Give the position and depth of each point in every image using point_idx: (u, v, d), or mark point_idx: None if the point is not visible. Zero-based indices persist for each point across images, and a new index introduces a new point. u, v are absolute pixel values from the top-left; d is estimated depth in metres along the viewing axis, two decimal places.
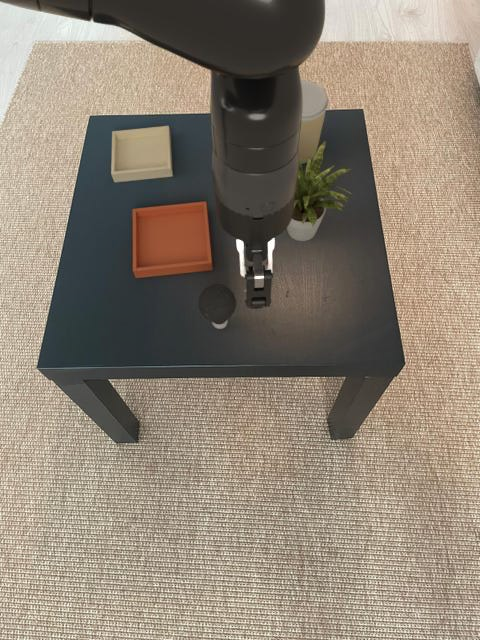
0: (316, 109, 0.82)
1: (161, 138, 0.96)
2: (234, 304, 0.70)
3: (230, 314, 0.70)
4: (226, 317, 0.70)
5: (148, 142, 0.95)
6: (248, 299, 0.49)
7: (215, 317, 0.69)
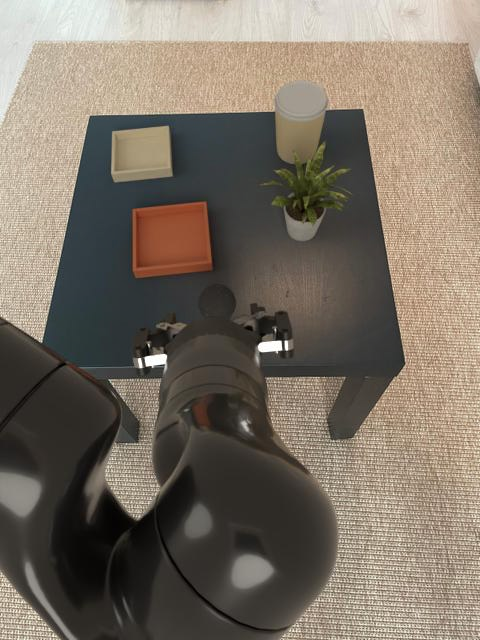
0: (316, 109, 0.82)
1: (161, 138, 0.96)
2: (234, 304, 0.70)
3: (230, 314, 0.70)
4: (226, 317, 0.70)
5: (148, 142, 0.95)
6: None
7: (215, 317, 0.69)
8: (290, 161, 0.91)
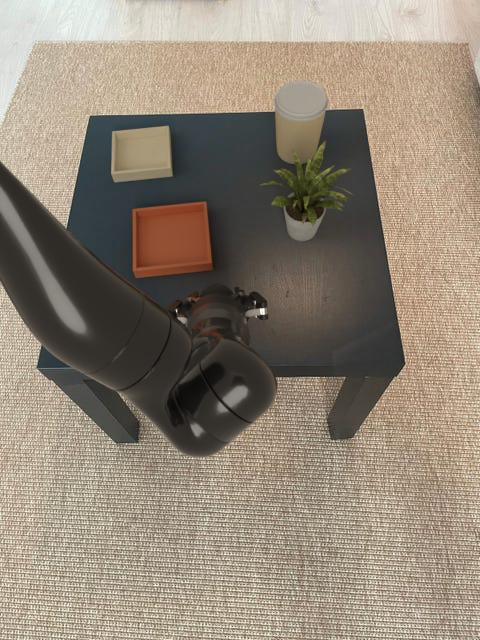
0: (316, 109, 0.82)
1: (161, 138, 0.96)
2: None
3: None
4: None
5: (148, 142, 0.95)
6: (170, 305, 0.66)
7: None
8: (290, 161, 0.91)
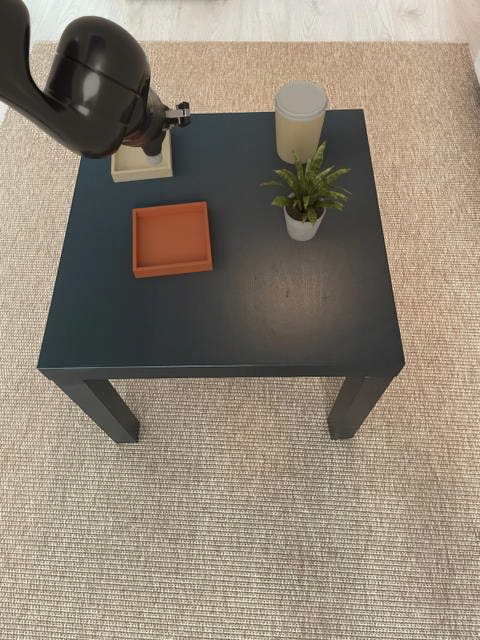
0: (316, 109, 0.82)
1: None
2: None
3: (159, 136, 0.69)
4: None
5: None
6: None
7: None
8: (290, 161, 0.91)
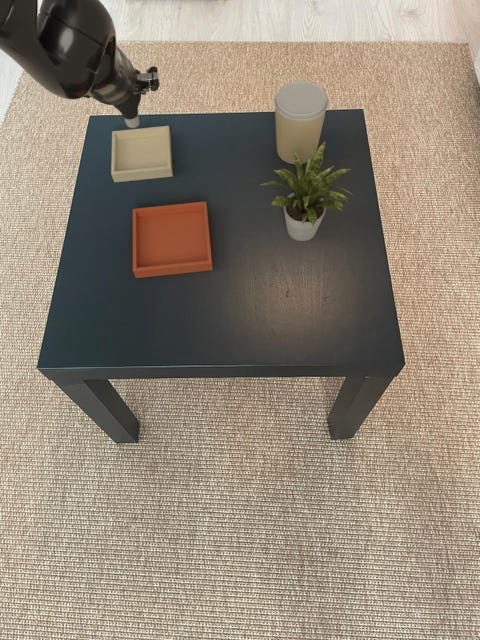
0: (316, 109, 0.82)
1: (161, 138, 0.96)
2: None
3: (134, 99, 0.80)
4: (131, 101, 0.80)
5: (148, 142, 0.95)
6: None
7: None
8: (290, 161, 0.91)
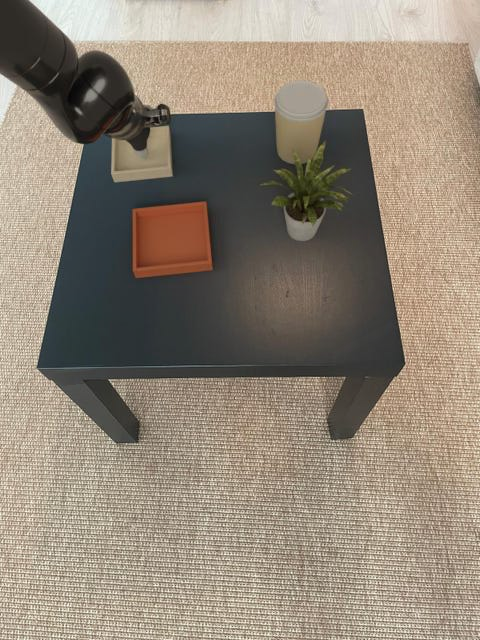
0: (316, 109, 0.82)
1: (161, 138, 0.96)
2: None
3: (144, 134, 0.86)
4: (141, 136, 0.86)
5: (148, 142, 0.95)
6: None
7: None
8: (290, 161, 0.91)
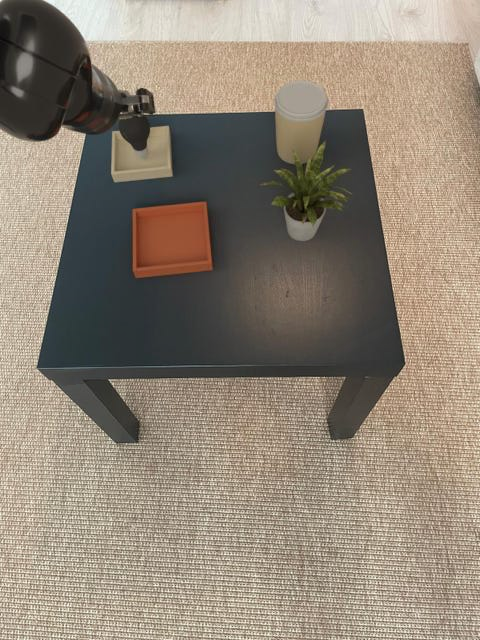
0: (316, 109, 0.82)
1: (161, 138, 0.96)
2: (147, 126, 0.86)
3: (144, 134, 0.86)
4: (141, 136, 0.86)
5: (148, 142, 0.95)
6: None
7: (131, 135, 0.85)
8: (290, 161, 0.91)
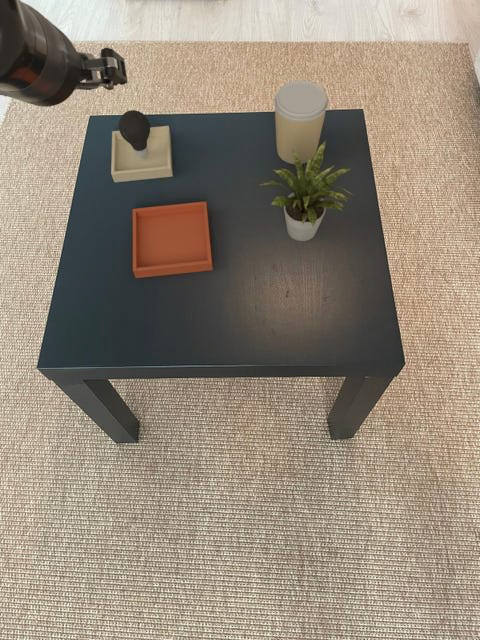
0: (316, 109, 0.82)
1: (161, 138, 0.96)
2: (147, 126, 0.86)
3: (144, 134, 0.86)
4: (141, 136, 0.86)
5: (148, 142, 0.95)
6: None
7: (131, 135, 0.85)
8: (290, 161, 0.91)
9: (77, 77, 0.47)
